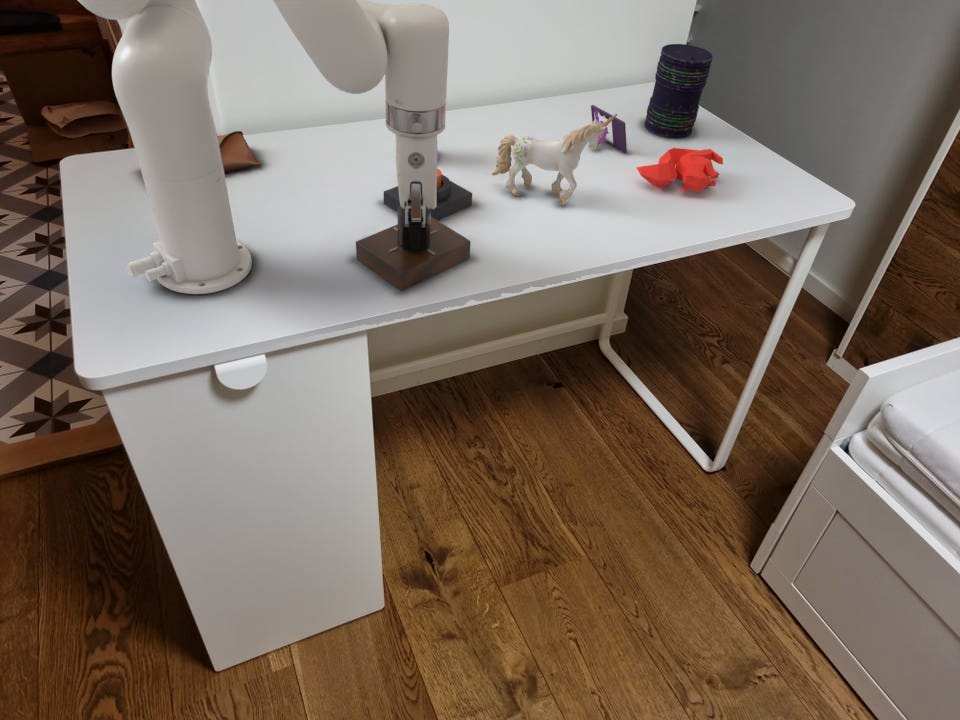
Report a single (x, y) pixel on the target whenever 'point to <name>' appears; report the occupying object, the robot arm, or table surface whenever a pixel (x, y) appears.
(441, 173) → the switch
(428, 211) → the dial
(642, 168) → the animal figurine
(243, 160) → the sunglasses case
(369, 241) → the dial panel
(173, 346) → the table surface
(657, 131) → the storage jar
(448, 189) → the switch base
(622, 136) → the purple decorative frame
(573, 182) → the unicorn figurine
